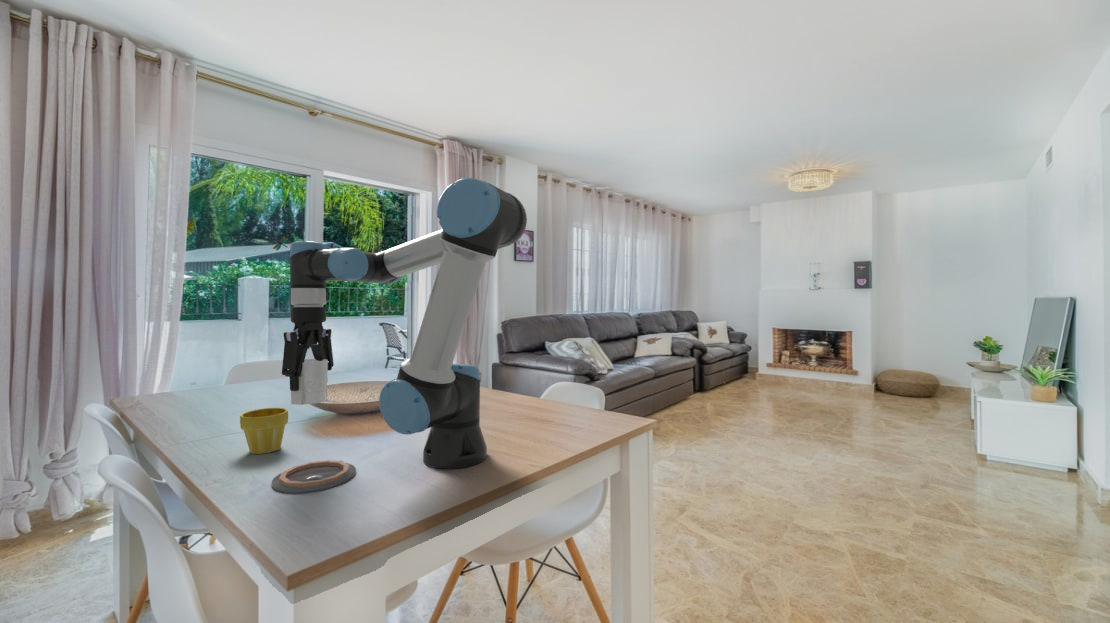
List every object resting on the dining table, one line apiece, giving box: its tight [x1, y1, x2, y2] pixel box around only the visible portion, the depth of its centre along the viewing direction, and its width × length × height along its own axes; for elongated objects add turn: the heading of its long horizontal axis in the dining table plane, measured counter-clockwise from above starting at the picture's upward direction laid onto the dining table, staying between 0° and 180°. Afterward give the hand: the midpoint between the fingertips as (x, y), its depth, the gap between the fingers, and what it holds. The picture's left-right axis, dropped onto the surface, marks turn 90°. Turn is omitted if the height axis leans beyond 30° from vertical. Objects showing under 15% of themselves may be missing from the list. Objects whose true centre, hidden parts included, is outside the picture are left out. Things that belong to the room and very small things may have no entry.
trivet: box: [271, 459, 357, 494], centre depth 98 cm, size 16×16×1 cm
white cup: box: [295, 358, 329, 405], centre depth 109 cm, size 8×8×10 cm
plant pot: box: [239, 407, 289, 455], centre depth 115 cm, size 10×10×10 cm
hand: (309, 400), depth 110 cm, fingers closed on white cup, 7 cm apart
